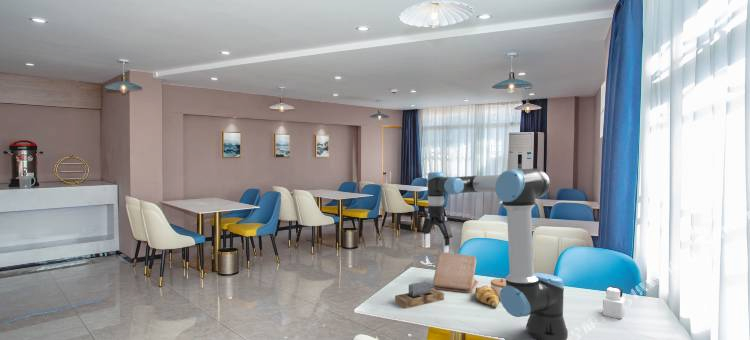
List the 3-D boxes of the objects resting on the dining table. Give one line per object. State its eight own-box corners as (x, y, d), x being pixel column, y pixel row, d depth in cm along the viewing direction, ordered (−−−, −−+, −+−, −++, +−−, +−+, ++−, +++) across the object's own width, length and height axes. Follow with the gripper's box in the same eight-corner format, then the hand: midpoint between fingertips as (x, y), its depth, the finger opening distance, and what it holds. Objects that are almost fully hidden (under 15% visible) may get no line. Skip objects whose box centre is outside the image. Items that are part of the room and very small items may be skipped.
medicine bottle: (606, 310, 194) (607, 283, 194) (624, 314, 190) (625, 287, 189) (602, 315, 189) (603, 288, 188) (621, 319, 184) (622, 291, 184)
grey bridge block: (425, 297, 212) (425, 281, 212) (430, 299, 209) (430, 283, 208) (408, 301, 207) (408, 284, 206) (412, 303, 204) (412, 286, 203)
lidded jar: (494, 301, 205) (494, 281, 205) (487, 294, 216) (488, 275, 216) (516, 301, 206) (517, 282, 205) (508, 294, 216) (509, 275, 216)
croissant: (502, 315, 197) (510, 299, 198) (484, 306, 195) (492, 290, 196) (481, 299, 218) (488, 284, 219) (465, 290, 216) (472, 276, 216)
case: (431, 289, 225) (432, 259, 224) (441, 278, 244) (442, 249, 243) (471, 295, 217) (472, 263, 216) (478, 282, 236) (479, 253, 235)
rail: (432, 294, 217) (432, 287, 217) (444, 299, 209) (444, 293, 209) (395, 302, 206) (395, 295, 206) (405, 308, 198) (405, 301, 198)
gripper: (460, 206, 197) (460, 253, 198) (425, 202, 218) (426, 244, 219) (447, 208, 193) (448, 255, 194) (413, 203, 214) (414, 246, 215)
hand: (436, 249), depth 206 cm, fingers open, 13 cm apart
